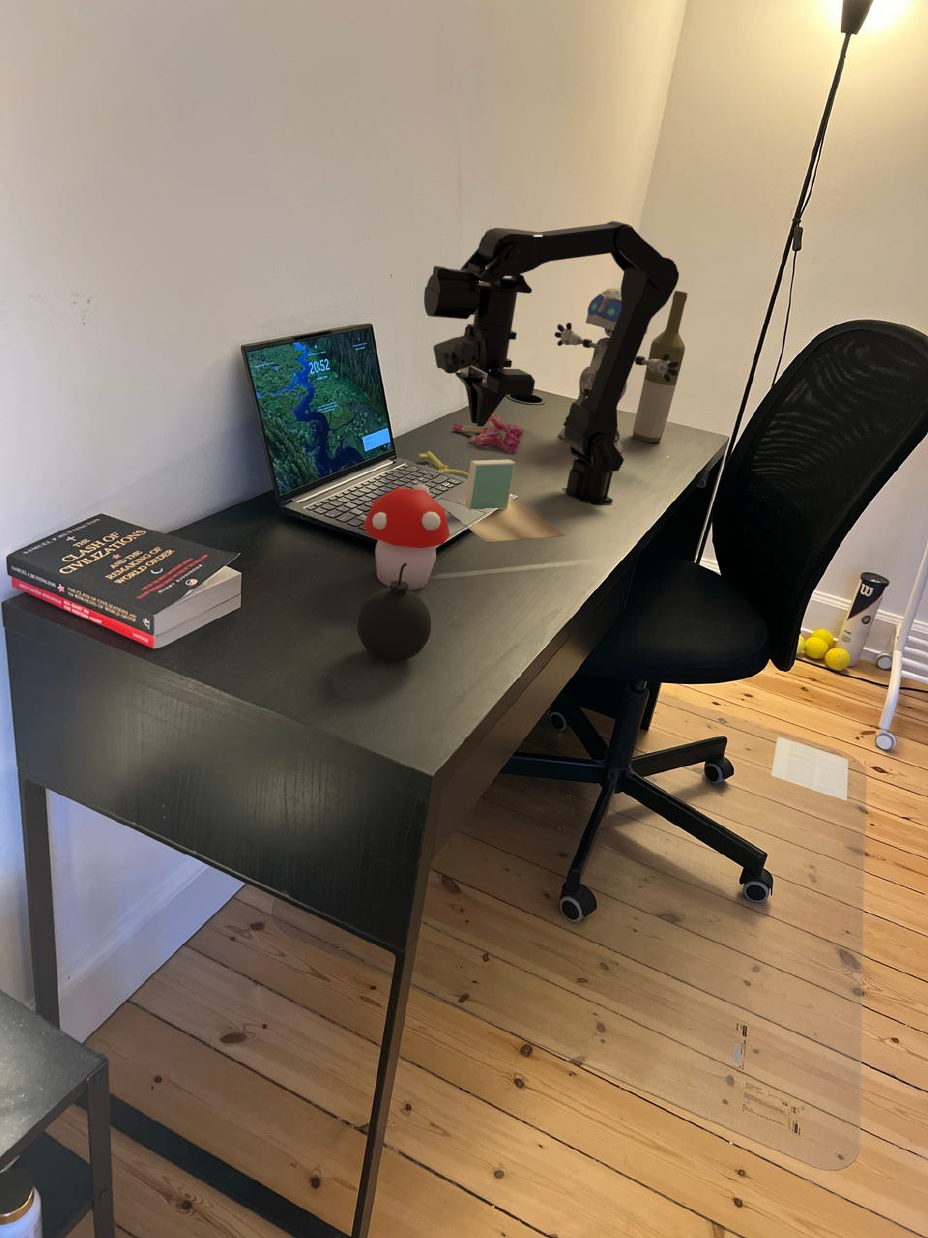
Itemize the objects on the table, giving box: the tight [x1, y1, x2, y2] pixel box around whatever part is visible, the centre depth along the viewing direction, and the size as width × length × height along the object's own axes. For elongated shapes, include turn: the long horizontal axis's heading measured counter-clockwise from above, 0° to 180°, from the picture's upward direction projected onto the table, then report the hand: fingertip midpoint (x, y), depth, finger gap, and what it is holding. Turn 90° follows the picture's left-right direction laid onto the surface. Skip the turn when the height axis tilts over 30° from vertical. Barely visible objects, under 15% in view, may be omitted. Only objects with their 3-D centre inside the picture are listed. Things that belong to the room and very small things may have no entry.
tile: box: [464, 459, 516, 510], centre depth 146 cm, size 7×2×8 cm, turn 120°
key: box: [417, 450, 469, 477], centre depth 161 cm, size 7×12×2 cm, turn 46°
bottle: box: [632, 290, 688, 443], centre depth 194 cm, size 7×7×30 cm
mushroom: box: [363, 483, 451, 591], centre depth 119 cm, size 11×11×12 cm
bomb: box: [356, 563, 432, 663], centre depth 100 cm, size 8×8×12 cm
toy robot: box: [554, 287, 679, 454], centre depth 185 cm, size 31×12×30 cm, turn 42°
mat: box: [468, 497, 567, 543], centre depth 144 cm, size 14×16×1 cm
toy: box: [452, 413, 524, 454], centre depth 181 cm, size 7×6×15 cm
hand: (477, 424), depth 147 cm, fingers closed
